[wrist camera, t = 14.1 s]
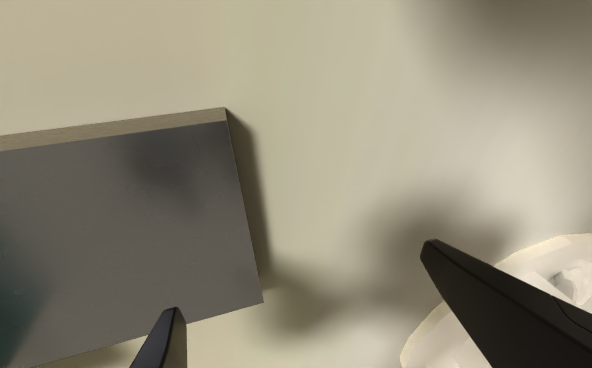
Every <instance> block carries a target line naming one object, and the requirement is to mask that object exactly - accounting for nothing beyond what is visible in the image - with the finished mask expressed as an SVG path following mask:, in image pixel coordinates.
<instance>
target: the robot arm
mask: <svg viewBox="0 0 592 368" xmlns="http://www.w3.org/2000/svg"><path fill="white" fill-rule="evenodd" d="M420 259H421V261H422V263H423V265H424V267H425V269H426V270H427V272H428V274H429V275H430V277H431V279H432V281H433V282H434V284H435V286H436V288H437V289H438V291H439V293H440V294H441V296H442V298H443V299H444V300H445V302H446V303H447V305H448V306H449V308H450V309H451V310H452V312H453V313H454V315H455V316H456V318H457V319H458V320H459V322H460V323H461V325H462V326H463V327H464V329H465V330H466V332H467V333H468V334H469V336H470V337H471V339H472V340H473V342H474V343H475V344H476V346H477V347H478V349H479V350H480V351H481V353H482V354H483V356H484V357H485V358H486V360H487V361H488V363H489V364H490V365H491V367H492V368H592V314H591V313H589V312H587V311H584V310H582V309H580V308H578V307H576V306H574V305H572V304H570V303H567V302H565V301H563V300H561V299H559V298H557V297H555V296H553V295H550V294H549V293H547V292H545V291H543V290H540V289H538V288H536V287H534V286H532V285H530V284H528V283H526V282H524V281H522V280H520V279H518V278H516V277H514V276H512V275H510V274H508V273H505V272H503V271H501V270H499V269H497V268H495V267H493V266H491V265H489V264H487V263H485V262H483V261H481V260H479V259H477V258H475V257H473V256H470V255H468V254H466V253H464V252H462V251H460V250H458V249H456V248H454V247H452V246H450V245H448V244H446V243H444V242H442V241H440V240H437V239H431V240H427V241H425V242H424V244H423V247H422V251H421V254H420ZM130 368H187V329H186V321H185V319H184V317H183V315H182V313H181V311H180V309H179V308H178V307H172V308H168V309H165V310H164V311H163V312H162V313H161V315H160V317H159V318H158V320H157V322H156V324H155V325H154V327H153V329H152V330H151V332H150V334H149V335H148V337H147V339H146V341H145V342H144V344H143V346H142V347H141V349H140V351H139V352H138V354H137V356H136V357H135V359H134V361H133V363H132V364H131V366H130Z"/></svg>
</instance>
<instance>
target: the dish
mask: <svg viewBox="0 0 592 368" xmlns="http://www.w3.org/2000/svg"><path fill="white" fill-rule="evenodd" d="M493 267H495V268H497V269H499V270H501V271H503V272H505V273H508V274H510V275H512V276H514V277H516V278H518V279H520V280H522V281H524V282H526V283H528V284H530V285H532V286H534V287H536V288H538V289H540V290H543V291H545V292H547V293H549V294H550V295H553V296H555V297H557V298H559V299H561V300H563V301H565V302H567V303H570V304H572V305H574V306H576V307H578V308H580V309H582V308H581V306H582V305H583V304H584V303H585V302H586V301H587V299H588V298H589V297H590V296H591V295H592V234H591V233H584V234H571V235H560V236H557V237H555V238H552V239H549V240H546V241H544V242H541V243H538V244H536V245H533V246H530V247H528V248H525V249H522V250H520V251H518V252H516V253H514V254H512V255H511V256H509V257H507V258H505V259H504V260H502V261H500V262H499V263H497V264H495V265H493ZM582 310H584V309H582ZM584 311H585V310H584ZM399 360H400V364H401V368H492V367H491V365H490V364H489V363H488V361H487V360H486V358H485V357H484V356H483V354H482V353H481V351H480V350H479V349H478V347H477V346H476V344H475V343H474V342H473V340H472V339H471V337H470V336H469V334H468V333H467V332H466V330H465V329H464V327H463V326H462V325H461V323H460V322H459V320H458V319H457V318H456V316H455V315H454V313H453V312H452V310H451V309H450V308H449V306H448V305H447V303H446V302H445V300H444V301H443V302H441V303H440V304H439V305H438V306H436V307H435V308H434V309H433V310H432V311H431V313H430V314H429V315H428V316H427V317H426V318H425V319H424V320H423V322H422V323H421V324H420V325H419V326H418V327H417V328H416V330H415V331H414V332H413V333H412V334H411V335H410V336H409V338H408V340H407V343H406V345H405V347H404V349H403V351H402V354H401V356H400V358H399Z"/></svg>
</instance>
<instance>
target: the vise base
mask: <svg viewBox="0 0 592 368" xmlns="http://www.w3.org/2000/svg"><path fill="white" fill-rule="evenodd" d="M260 303H264V301H263V296H262V291H261V285H260V280H259V275H258V270H257V265H256V260H255V255H254V250H253V245H252V240H251V235H250V230H249V225H248V220H247V216H246V211H245V206H244V201H243V196H242V191H241V186H240V181H239V176H238V171H237V166H236V161H235V156H234V151H233V146H232V141H231V136H230V131H229V126H228V121H227V117H226V112H225V107H223V108H215V109H207V110H199V111H191V112H184V113H176V114H168V115H160V116H152V117H145V118H137V119H129V120H121V121H113V122H105V123H98V124H90V125H82V126H74V127H66V128H58V129H51V130H43V131H35V132H27V133H19V134H12V135H4V136H0V368H31V367H35V366H38V365H42V364H46V363H49V362H53V361H56V360H60V359H63V358H67V357H71V356H74V355H78V354H81V353H85V352H89V351H92V350H96V349H99V348H103V347H106V346H110V345H114V344H117V343H121V342H124V341H128V340H131V339H135V338H139V337H142V336H146V335H149V334H150V332H151V330H152V329H153V327H154V325H155V324H156V322H157V320H158V318H159V317H160V315H161V313H162V312H163V311H164V310H165V309H168V308H172V307H178V308H179V309H180V311H181V313H182V315H183V317H184V319H185V321H186V324H189V323H192V322H196V321H199V320H203V319H207V318H210V317H214V316H217V315H221V314H224V313H228V312H232V311H235V310H239V309H242V308H246V307H249V306H253V305H257V304H260Z"/></svg>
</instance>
